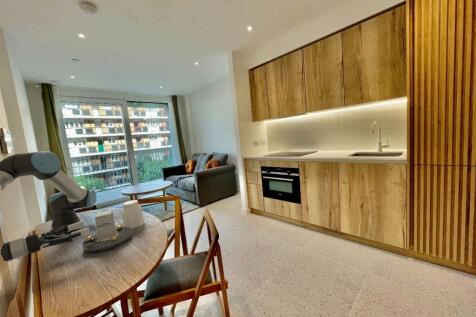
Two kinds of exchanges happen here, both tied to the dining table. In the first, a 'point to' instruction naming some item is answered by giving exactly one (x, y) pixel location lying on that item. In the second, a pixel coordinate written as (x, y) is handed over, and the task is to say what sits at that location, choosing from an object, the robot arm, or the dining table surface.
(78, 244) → the dining table surface
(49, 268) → the dining table surface
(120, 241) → the base
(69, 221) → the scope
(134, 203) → the jar
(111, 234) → the supplement box
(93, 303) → the dining table surface
